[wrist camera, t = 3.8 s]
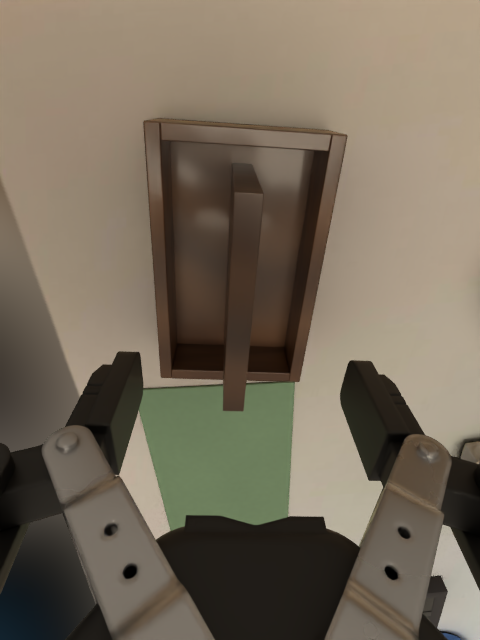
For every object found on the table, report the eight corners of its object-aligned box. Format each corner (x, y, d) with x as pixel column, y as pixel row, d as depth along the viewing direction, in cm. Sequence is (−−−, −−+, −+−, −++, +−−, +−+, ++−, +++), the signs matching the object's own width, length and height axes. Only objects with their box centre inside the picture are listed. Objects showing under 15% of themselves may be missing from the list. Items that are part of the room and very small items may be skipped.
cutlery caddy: (157, 118, 20) (114, 125, 13) (328, 130, 21) (386, 144, 13) (168, 345, 29) (146, 433, 21) (291, 349, 29) (313, 437, 21)
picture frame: (321, 625, 59) (431, 613, 58) (324, 642, 57) (438, 631, 56) (317, 589, 52) (441, 575, 51) (320, 607, 50) (449, 594, 49)
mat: (134, 388, 31) (133, 390, 31) (294, 381, 31) (294, 382, 31) (172, 536, 43) (172, 538, 43) (286, 530, 43) (287, 532, 43)
